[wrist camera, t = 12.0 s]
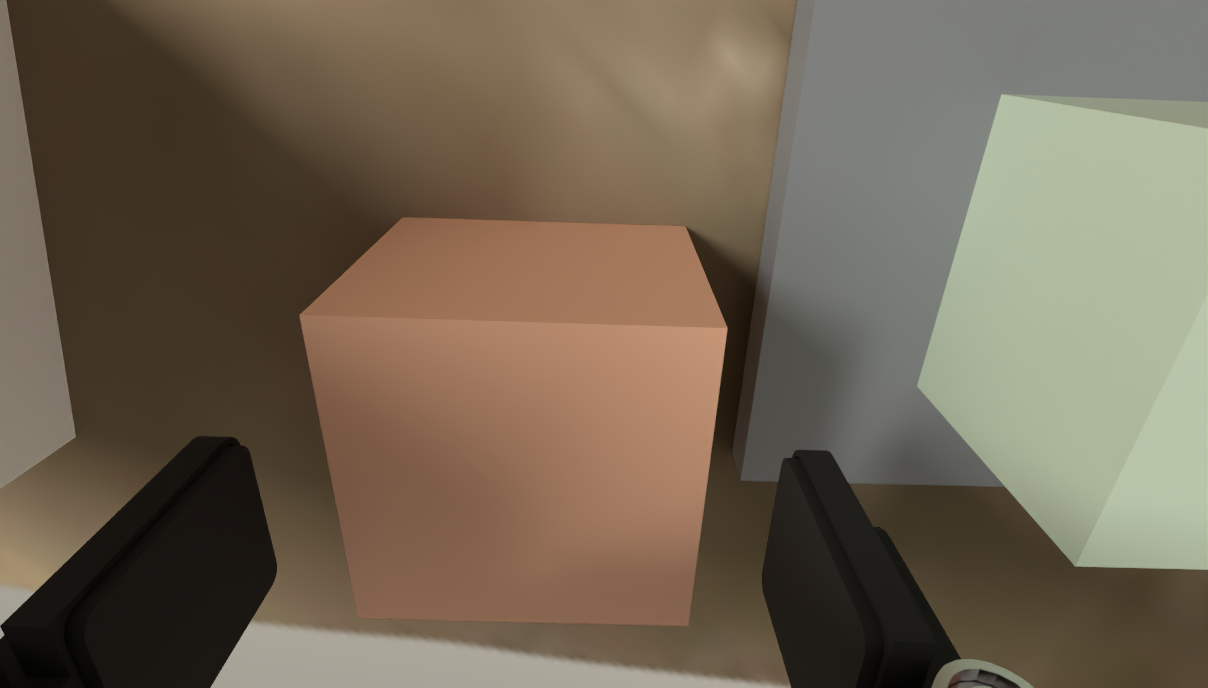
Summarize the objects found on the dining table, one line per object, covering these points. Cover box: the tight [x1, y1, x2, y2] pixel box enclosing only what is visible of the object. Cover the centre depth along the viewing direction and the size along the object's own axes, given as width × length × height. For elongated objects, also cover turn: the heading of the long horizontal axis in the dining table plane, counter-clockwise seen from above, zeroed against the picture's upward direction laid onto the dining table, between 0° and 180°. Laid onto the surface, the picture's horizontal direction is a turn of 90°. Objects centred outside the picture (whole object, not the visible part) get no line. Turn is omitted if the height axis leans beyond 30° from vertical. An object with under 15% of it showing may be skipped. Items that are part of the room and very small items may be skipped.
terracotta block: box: [299, 217, 728, 626], centre depth 14 cm, size 6×6×6 cm
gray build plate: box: [732, 0, 1208, 487], centre depth 14 cm, size 12×14×1 cm
